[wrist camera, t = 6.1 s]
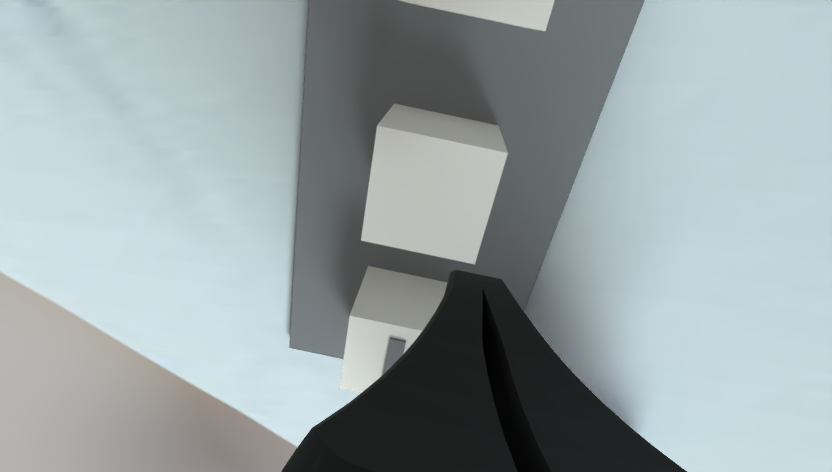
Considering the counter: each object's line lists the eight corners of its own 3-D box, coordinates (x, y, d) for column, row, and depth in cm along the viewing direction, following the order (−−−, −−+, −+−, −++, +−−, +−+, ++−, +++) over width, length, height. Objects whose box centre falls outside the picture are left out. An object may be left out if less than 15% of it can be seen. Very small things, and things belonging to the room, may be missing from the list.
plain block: (498, 125, 17) (508, 153, 14) (472, 219, 19) (474, 264, 16) (394, 103, 17) (377, 125, 14) (379, 199, 19) (360, 240, 16)
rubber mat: (492, 382, 25) (492, 390, 24) (293, 340, 25) (289, 347, 24) (707, -181, 13) (718, -190, 13) (329, -262, 13) (324, -273, 13)
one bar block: (453, 283, 21) (452, 339, 18) (435, 348, 23) (431, 409, 20) (368, 265, 21) (349, 317, 18) (357, 331, 23) (338, 390, 20)
